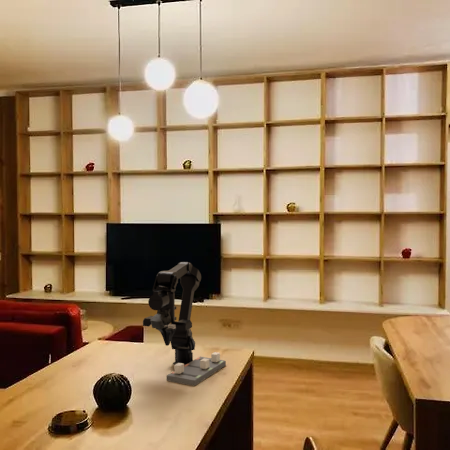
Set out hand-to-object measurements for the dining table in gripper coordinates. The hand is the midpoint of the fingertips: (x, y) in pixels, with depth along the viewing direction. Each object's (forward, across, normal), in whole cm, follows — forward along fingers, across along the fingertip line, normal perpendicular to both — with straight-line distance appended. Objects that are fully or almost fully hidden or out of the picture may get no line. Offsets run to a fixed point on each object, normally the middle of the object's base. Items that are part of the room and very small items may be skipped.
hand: (167, 345), depth 187 cm
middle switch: (+9, +12, +8) cm, 17 cm away
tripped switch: (+9, +5, 0) cm, 11 cm away
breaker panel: (+12, +9, +8) cm, 17 cm away
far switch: (+10, +12, +17) cm, 23 cm away
